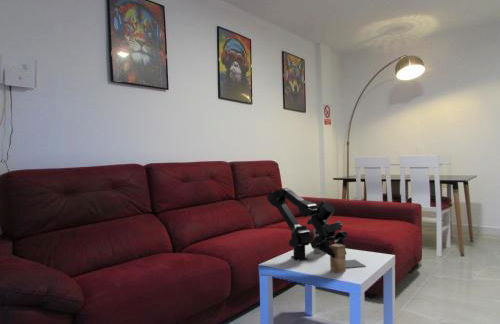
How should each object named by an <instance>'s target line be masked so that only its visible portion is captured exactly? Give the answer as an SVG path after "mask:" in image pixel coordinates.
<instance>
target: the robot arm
mask: <svg viewBox="0 0 500 324" xmlns="http://www.w3.org/2000/svg"><path fill="white" fill-rule="evenodd" d="M266 198H267V201H268V202H269V204H270V205H271V206H273V207H274V208H276V209H277V210H278V212H279V213H280V215H281V216H282V218H283V219H284V222H285V223H286V224H287V226H288V227H289V229H290V235H291V236H290V237H291V238H290V239H289V241H288V245H289V247H291V248H292V249H293V251H292V252H293V255H291V256H290V257H291V258H292V259H293V260H294V261H305V260H308V259H309V258H308V257H307V256H306V246H309V245H310V246H311V248H312V250H314V249H315V248H317V249H319V250H321V251H323V252H325V253H326V254H327V255H328V256H329V257H330V256H331V257H333V258H335V254H334V253H333V251H332V249H331V247H330V242H334V244H341V245H345V243H344V241H345V239H347V237H348V236H349V234H348V233H347V231H345V230H342V228H343V223H342V222H341V221H340V220H337V221H335V222H333V223H331V224H330V223H328V224H326V222H325V221H324V220H328V221H329V219H330V217H331V216H332V215H333V214H334V213H335V210H336V209H335V207H334V206H333V205H332V204H330V203H329V202H327V200H323V201H322V202H321V203H320V205H319V206H318V205H317V204H316V203H314V202H312V201H310V200H306V199H304V198H302V197H301V196H299V194H297V193H296V192H294V191H293V190H291V188H289V187H284V188H280V189H278V190H275V191H270V192H268V194H267V196H266ZM286 200H288V201H289V202H290V203H292V204H293V205H294V206H296V207H297V208H298V211H299V212H300V213H301V215H302V216H303V217H305V218H306V217H307V218H308V217H309V218H308V219H307V222H306V223H307V225H312V227H313V229H314V228H315V230H316V232H315V233H316V235H317V234H318V235H319V236H316V237H315V238H314V237H313V239H312V241H311V237H312V235H311V233H310V230H309V229H308V227H307V226H306V225H301V224H300V223H299V221H298V220H297V219H296V217H295V216H294V214H293V212H292V211H291V210H290V208H289V207H288V205H287V204H286ZM341 230H342V231H341ZM310 241H311V242H310ZM318 246H319V247H318ZM326 254H325V255H326ZM346 255H347V251H346V249H345V256H346Z"/></svg>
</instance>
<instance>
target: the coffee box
mask: <svg viewBox="0 0 500 324" xmlns="http://www.w3.org/2000/svg"><path fill="white" fill-rule="evenodd" d="M324 221H325V222H326V224H329V219H328V220H324ZM315 232H316V230H315V228H314V227H313V239H314V238H315V237H316V236H319V235H318V234H317V235H316V233H315ZM318 247H319V246H318ZM313 254H318V255H319V254H321V255H326V253H325V252H323V251H321V250H319V249H317V248H315V249H313Z"/></svg>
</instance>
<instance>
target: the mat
mask: <svg viewBox="0 0 500 324" xmlns="http://www.w3.org/2000/svg"><path fill="white" fill-rule="evenodd" d="M345 262H346V269H354V268H365V267H366V265H365V264H363V263H362V262H360V261H358V260H357V259H345Z"/></svg>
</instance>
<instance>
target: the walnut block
mask: <svg viewBox="0 0 500 324" xmlns="http://www.w3.org/2000/svg"><path fill="white" fill-rule="evenodd" d="M329 246H330V247H331V249H332V251H333V253H334V254H335V258H333V257H331V256H330V255H329V257H330V258H329V260H330V266H329V268H330V271H331V272H334V273H337V274H340V273H343V272H346V269H347V268H346V262H345V260H346V255H345V250H346V245H345V244H344V245H341V244H335V243H334V244H329Z"/></svg>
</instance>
